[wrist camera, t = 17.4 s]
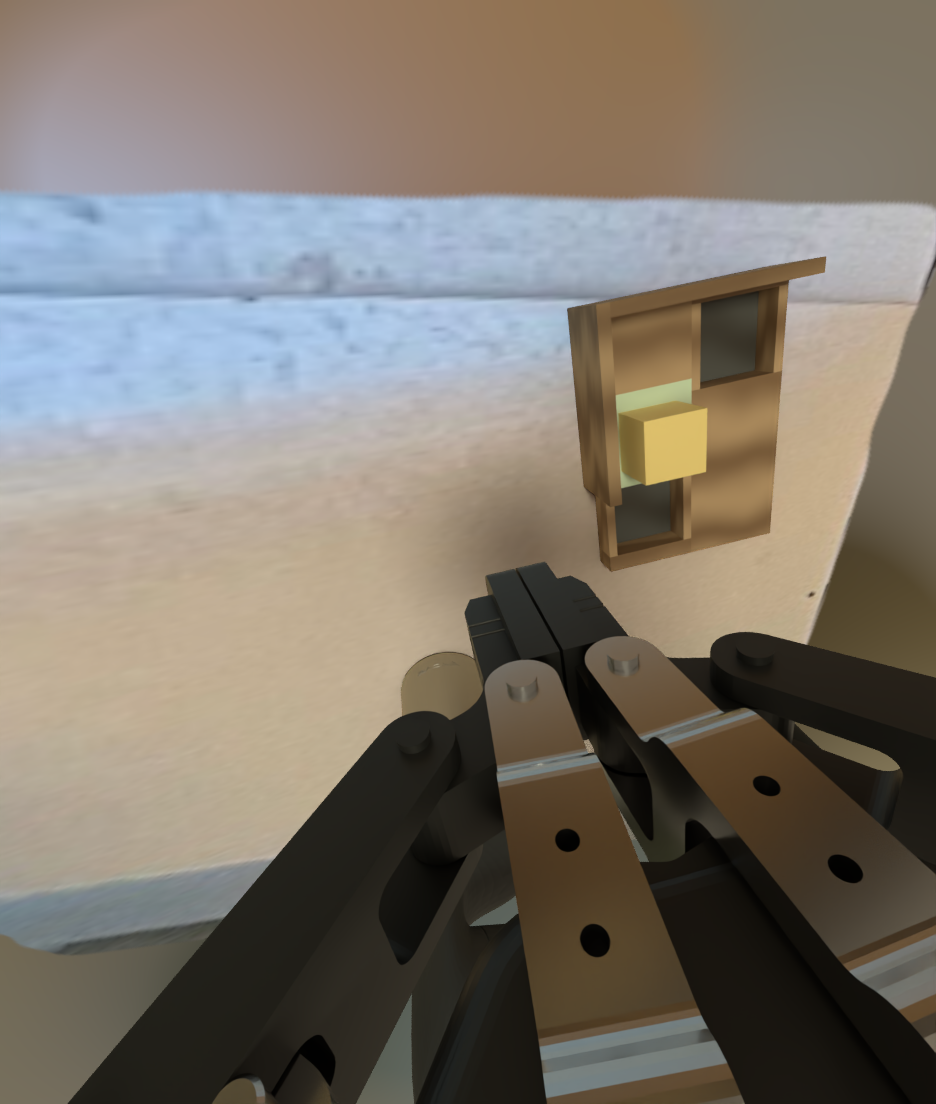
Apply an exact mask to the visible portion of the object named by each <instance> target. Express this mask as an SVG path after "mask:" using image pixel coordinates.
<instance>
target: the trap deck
mask: <svg viewBox="0 0 936 1104" xmlns="http://www.w3.org/2000/svg"><path fill="white" fill-rule="evenodd" d="M825 264H826V257H820V258H814V259H808V260H803V261H797V262H791V263H785V264H779V265H773V266H767V267H763V268H758V269H753V270H748V271H744V272H739V273H734V274H729V275H724V276H720V277H715V278H710V279H705V280H701V281H696V282H691V283H686V284H682V285H677V286H672V287H667V288H662V289H658V290H653V291H648V292H643V293H639V294H634V295H629V296H624V297H620V298H615V299H610V300H605V301H601V302H596V303H591V304H586V305H581V306H577V307H572V308H567V310H568V321H569V332H570V343H571V353H572V364H573V375H574V386H575V396H576V407H577V418H578V429H579V439H580V450H581V461H582V472H583V482H584V487H585V488H586V489H588V490H589V491H590V492H591V493H593V494H594V495H595V499H596V511H597V523H598V535H599V546H600V558H601V562H602V563H603V564H604V565H605V566H606V567H607V568H608V569H609V570H610V571H611V572H612V571H616V570H620V569H624V568H628V567H632V566H636V565H640V564H645V563H649V562H653V561H657V560H661V559H665V558H669V557H673V556H677V555H681V554H686V553H690V552H694V551H698V550H702V549H706V548H710V547H714V546H718V545H722V544H727V543H731V542H735V541H739V540H743V539H747V538H751V537H755V536H759V535H763V534H768V533H770V523H771V510H772V496H773V483H774V470H775V456H776V443H777V430H778V416H779V403H780V390H781V376H782V363H783V350H784V336H785V323H786V310H787V296H788V283H789V280H791V279H796V278H800V277H805V276H810V275H815V274H819V273H824V272H825ZM753 370H754V371H753ZM744 372H745V373H744ZM671 401H680V402H684V403H688V404H693V405H697V406H701V407H705V408H707V452H706V472H704V473H699V474H695V475H691V476H686V477H682V478H677V479H673V480H669V481H664V482H660V483H656V484H651V485H647V486H646V485H644V484H642V483H641V482H639V481H637V480H635V479H634V478H632V477H630V476H629V475H627V474H625V473H624V472H622V471H621V453H620V435H619V417H618V413H621V412H626V411H630V410H635V409H639V408H644V407H649V406H653V405H658V404H662V403H667V402H671Z"/></svg>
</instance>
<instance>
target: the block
mask: <svg viewBox="0 0 936 1104" xmlns="http://www.w3.org/2000/svg"><path fill="white" fill-rule="evenodd" d="M618 417H619V435H620V453H621V471H622V472H624V473H625V474H627V475H629V476H630V477H632V478H634V479H635V480H637V481H639V482H641V483H642V484H644V485H646V486H647V485H651V484H656V483H660V482H664V481H669V480H673V479H677V478H682V477H686V476H691V475H695V474H699V473H704V472H706V452H707V408H705V407H701V406H697V405H693V404H688V403H684V402H680V401H671V402H667V403H662V404H658V405H653V406H649V407H644V408H639V409H635V410H630V411H626V412H621V413H618Z"/></svg>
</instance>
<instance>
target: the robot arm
mask: <svg viewBox="0 0 936 1104" xmlns="http://www.w3.org/2000/svg"><path fill="white" fill-rule="evenodd" d="M485 579H486V585H487V591H488V596H484V597H480V598H476V599H471V600H470V601H469V603H468V606H467V608H466V610H465V618H466V622H467V627H468V631H469V636H470V641H471V645H472V650H473V654H474V659H475V660H474V659H472V658H470V657H468V656H466V655H463V654H458V653H439V654H435V655H432V656H429V657H426V658H424V659H423V660H421V661H419V662H418V663H416V664H415V665H414V666H413V667H412V668H411V669H410V670H409V671H408V673H407V674H406V676H405V678H404V680H403V682H402V687H401V702H402V717H400V718H398V719H396V720H394V721H393V722H392V723H390V724H389V725H388V726H387V727H386V728H385V729H384V730H383V731H382V732H381V733H380V735H379V736H378V737H377V738H376V739H375V740H374V742H373V743H372V744H371V745H370V746H369V748H368V749H367V750H366V751H365V752H364V753H363V755H362V756H361V757H360V758H359V759H358V761H357V762H356V763H355V764H354V765H353V767H352V768H351V769H350V770H349V771H348V772H347V774H346V775H345V776H344V777H343V778H342V780H341V781H340V782H339V783H338V784H337V785H336V787H335V788H334V789H333V790H332V791H331V793H330V794H329V795H328V796H327V797H326V798H325V800H324V801H323V802H322V803H321V804H320V806H319V807H318V808H317V809H316V810H315V811H314V813H313V814H312V815H311V816H310V817H309V819H308V820H307V821H306V822H305V823H304V824H303V826H302V827H301V828H300V829H299V830H298V832H297V833H296V834H295V835H294V836H293V838H292V839H291V840H290V841H289V842H288V843H287V845H286V846H285V847H284V848H283V849H282V851H281V852H280V853H279V854H278V855H277V856H276V858H275V859H274V860H273V861H272V862H271V864H270V865H269V866H268V867H267V868H266V869H265V871H264V872H263V873H262V874H261V875H260V877H259V878H258V879H257V880H256V881H255V882H254V884H253V885H252V886H251V887H250V888H249V890H248V891H247V892H246V893H245V894H244V895H243V897H242V898H241V899H240V900H239V901H238V903H237V904H236V905H235V906H234V907H233V909H232V910H231V911H230V912H229V913H228V914H227V916H226V917H225V918H224V919H223V920H222V922H221V923H220V924H219V925H218V926H217V927H216V929H215V930H214V931H213V932H212V933H211V935H210V936H209V937H208V938H207V939H206V940H205V942H204V943H203V944H202V945H201V947H200V948H199V949H198V950H197V951H196V952H195V953H194V955H193V956H192V957H191V958H190V959H189V961H188V962H187V963H186V964H185V965H184V966H183V968H182V969H181V970H180V971H179V973H178V974H177V975H176V976H175V977H174V978H173V980H172V981H171V982H170V983H169V984H168V986H167V987H166V988H165V989H164V990H163V991H162V993H161V994H160V995H159V996H158V997H157V998H156V1000H155V1001H154V1002H153V1003H152V1005H151V1006H150V1007H149V1008H148V1009H147V1010H146V1011H145V1013H144V1014H143V1015H142V1016H141V1017H140V1019H139V1020H138V1021H137V1022H136V1023H135V1025H134V1026H133V1027H132V1028H131V1029H130V1030H129V1032H128V1033H127V1034H126V1035H125V1036H124V1038H123V1039H122V1040H121V1041H120V1043H118V1045H117V1046H116V1047H115V1048H114V1049H113V1051H112V1052H111V1053H110V1054H109V1055H108V1056H107V1058H106V1059H105V1060H104V1061H103V1062H102V1064H101V1065H100V1066H99V1067H98V1068H97V1070H96V1071H95V1072H94V1073H93V1074H92V1075H91V1077H90V1078H89V1079H88V1080H87V1081H86V1082H85V1084H84V1085H83V1086H82V1088H80V1090H79V1091H78V1092H77V1093H76V1094H75V1095H74V1097H73V1098H72V1099H71V1100H70V1101H69V1103H68V1104H356V1102H357V1100H358V1098H359V1096H360V1094H361V1092H362V1090H363V1088H364V1086H365V1084H366V1083H367V1081H368V1078H369V1077H370V1075H371V1073H372V1071H373V1069H374V1067H375V1065H376V1063H377V1061H378V1059H379V1057H380V1055H381V1053H382V1051H383V1049H384V1047H385V1045H386V1043H387V1041H388V1039H389V1037H390V1035H391V1033H392V1031H393V1029H394V1027H395V1025H396V1023H397V1021H398V1019H399V1017H400V1016H401V1013H402V1012H403V1010H404V1008H405V1006H406V1004H407V1002H408V1000H409V998H410V996H411V994H412V1033H411V1038H412V1039H411V1040H412V1080H413V1081H412V1082H413V1094H414V1104H936V678H934V677H931V676H926V675H923V674H919V673H915V672H911V671H907V670H903V669H899V668H895V667H891V666H887V665H883V664H879V663H875V662H872V661H868V660H864V659H860V658H856V657H852V656H848V655H844V654H840V653H836V652H832V651H828V650H825V649H820V648H817V647H813V646H809V645H805V644H801V643H797V642H793V641H789V640H785V639H781V638H777V637H773V636H770V635H765V634H761V633H753V632H738V633H732V634H728V635H725V636H723V637H720V638H719V639H717V640H716V641H715V642H714V643H713V645H712V646H711V651H710V658H669V657H666V656H665V655H664V654H663V653H662V652H661V651H660V650H658V649H657V648H656V647H655V646H654V645H653V644H651V643H649V642H647V641H645V640H643V639H639V638H635V637H629V636H628V635H627V633H626V632H625V631H624V630H623V628H622V627H621V626H620V625H619V623H618V622H617V621H616V620H615V618H614V617H613V616H612V615H611V613H610V612H609V611H608V610H607V608H606V607H605V606H603V603H602V602H601V601H600V600H599V598H598V597H596V595H595V594H594V592H593V591H592V590H591V589H590V587H589V586H588V585H587V584H586V583H584V582H582V581H580V580H578V579H576V578H574V577H572V576H567V577H563V578H559V579H557V578H556V576H555V575H554V573H553V572H552V571H551V569H550V568H549V566H548V565H547V564H546V562H541V563H537V564H533V565H528V566H524V567H520V568H516V571H515V569H512V570H508V571H503V572H499V573H495V574H491V575H486V576H485ZM794 722H798V723H800V724H804V725H807V726H809V727H812V728H815V729H818V730H821V731H824V732H826V733H829V734H832V735H835V736H838V737H841V738H844V739H847V740H849V741H852V742H856V743H858V744H861V745H864V746H867V747H870V748H873V749H875V750H878V751H880V752H882V753H884V754H886V755H888V756H889V757H891V758H892V759H893V760H894V761H895V762H896V763H897V764H898V765H899V767H900V769H898V770H895V771H881V770H877V769H874V768H871V767H868V766H865V765H863V764H860V763H857V762H855V761H852V760H849V759H846V758H844V757H841V756H838V755H835V754H833V753H830V752H827V751H825V750H822V749H819V748H816V747H814V746H811V745H808V744H806V743H803V742H800V741H797V740H795V739H793V731H794ZM587 739H589V740H590V742H591V744H592V746H593V748H594V753H588V751H587V749H586V746H585V744H584V741H583V740H587ZM618 808H619V809H618ZM619 810H620V811H619ZM620 812H621V813H622V815H623V817H624V819H625V820H626V822H627V824H628V825H629V827H630V829H631V830H632V832H633V834H634V836H635V837H636V839H637V841H638V842H639V844H640V846H641V847H642V849H643V851H644V852H645V855H646V856H647V858H648V861H649V862H640V861H639V859H638V856H637V854H636V851H635V849H634V846H633V844H632V841H631V839H630V836H629V834H628V831H627V829H626V826H625V824H624V821H623V819H622V816H621V814H620ZM514 896H516V900H517V906H518V914H517V915H515V916H514V917H513V918H512V919H511V920H510V921H508V922H507V923H506V924H496V925H483V926H469V925H471V924H472V923H473V922H474V921H476V920H477V919H479V918H480V917H481V916H483V915H485V914H487V913H489V912H490V911H492V910H494V909H496V908H498V907H499V906H501V905H503V904H505V903H506V902H508V901H509V900H510V899H512V898H513V897H514Z"/></svg>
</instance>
